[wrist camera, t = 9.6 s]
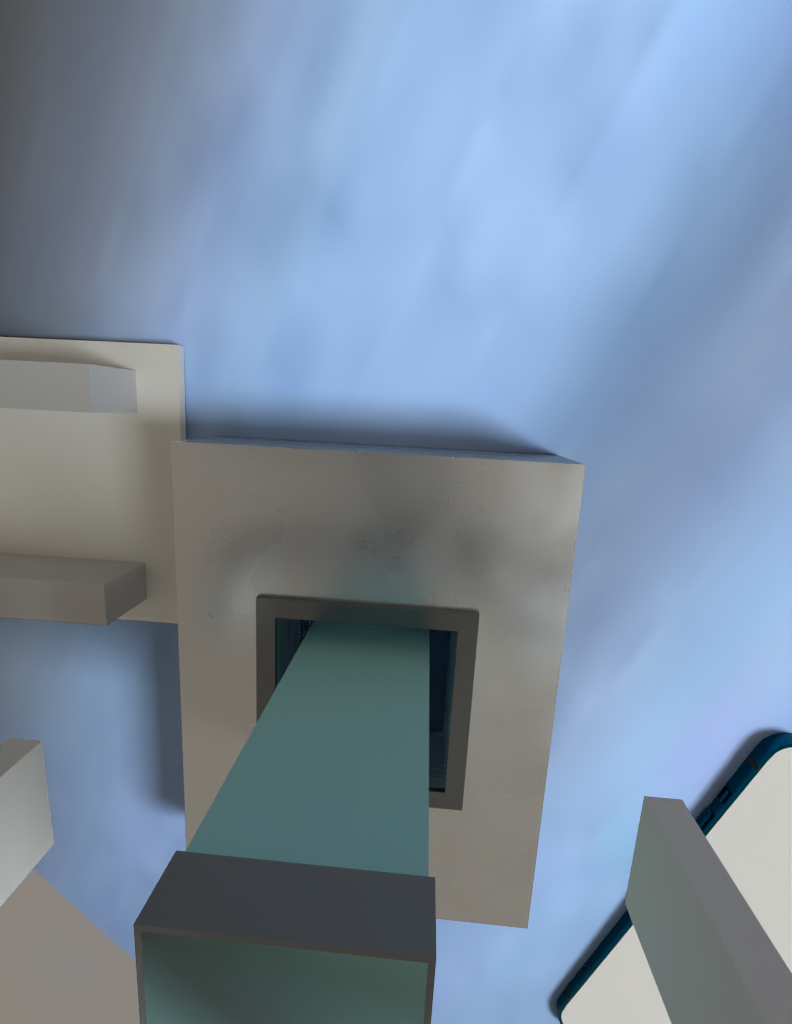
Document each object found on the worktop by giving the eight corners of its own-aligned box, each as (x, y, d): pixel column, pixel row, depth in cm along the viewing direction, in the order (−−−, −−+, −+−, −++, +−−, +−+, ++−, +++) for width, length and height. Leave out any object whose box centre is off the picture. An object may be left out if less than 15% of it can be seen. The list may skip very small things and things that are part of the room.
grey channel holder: (-93, 333, 18) (-188, 319, 15) (183, 346, 17) (136, 333, 14) (-56, 601, 20) (-135, 631, 17) (192, 620, 19) (152, 654, 16)
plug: (319, 602, 19) (133, 924, 7) (432, 611, 18) (435, 958, 7) (317, 704, 20) (148, 1143, 8) (425, 713, 19) (417, 1182, 8)
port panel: (213, 436, 18) (167, 441, 15) (558, 455, 17) (587, 465, 14) (221, 824, 21) (185, 897, 18) (513, 853, 20) (528, 934, 17)
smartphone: (698, 1073, 23) (948, 811, 19) (709, 1101, 22) (973, 832, 18) (542, 997, 22) (766, 717, 19) (547, 1022, 21) (783, 733, 18)
